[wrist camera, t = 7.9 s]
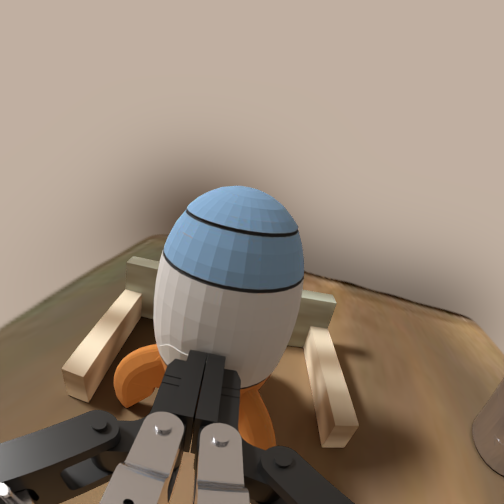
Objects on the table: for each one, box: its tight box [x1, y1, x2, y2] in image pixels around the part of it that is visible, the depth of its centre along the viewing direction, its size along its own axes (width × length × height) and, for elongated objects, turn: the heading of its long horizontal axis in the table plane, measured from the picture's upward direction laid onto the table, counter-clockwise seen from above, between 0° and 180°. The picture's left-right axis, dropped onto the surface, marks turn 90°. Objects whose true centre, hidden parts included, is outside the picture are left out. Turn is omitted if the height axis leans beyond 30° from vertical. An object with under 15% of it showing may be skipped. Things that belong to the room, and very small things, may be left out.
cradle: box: [62, 256, 359, 448], centre depth 21 cm, size 13×18×5 cm
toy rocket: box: [114, 186, 304, 450], centre depth 15 cm, size 10×11×15 cm
